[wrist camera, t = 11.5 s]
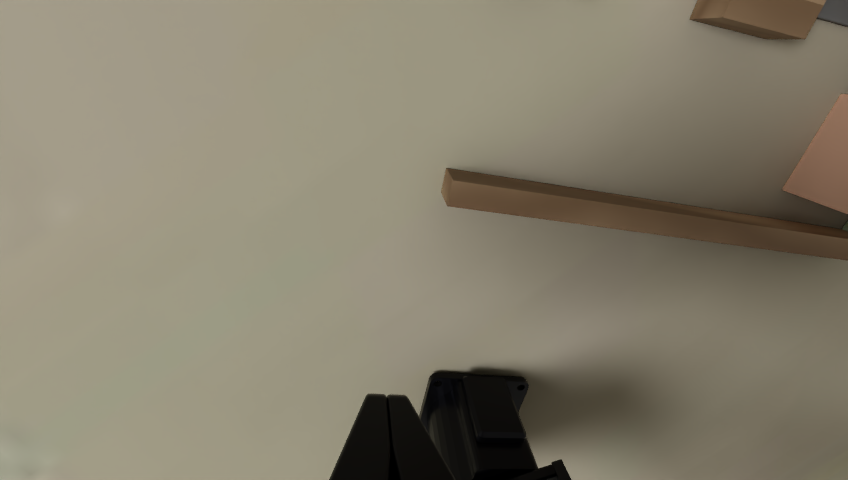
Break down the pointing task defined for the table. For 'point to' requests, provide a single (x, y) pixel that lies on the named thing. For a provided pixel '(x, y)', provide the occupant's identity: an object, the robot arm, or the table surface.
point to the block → (825, 162)
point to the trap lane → (727, 8)
